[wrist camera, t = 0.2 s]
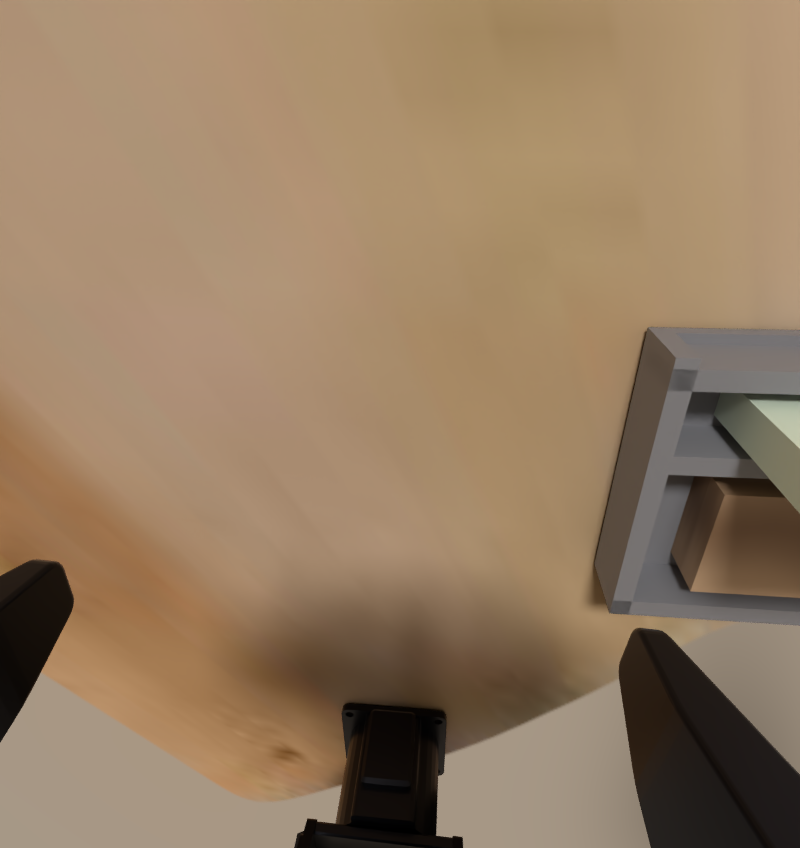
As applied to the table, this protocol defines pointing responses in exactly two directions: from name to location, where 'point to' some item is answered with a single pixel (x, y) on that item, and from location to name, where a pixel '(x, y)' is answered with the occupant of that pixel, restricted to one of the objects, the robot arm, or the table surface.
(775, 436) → the board
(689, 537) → the offcut low
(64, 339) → the table surface
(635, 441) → the rack
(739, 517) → the offcut top
